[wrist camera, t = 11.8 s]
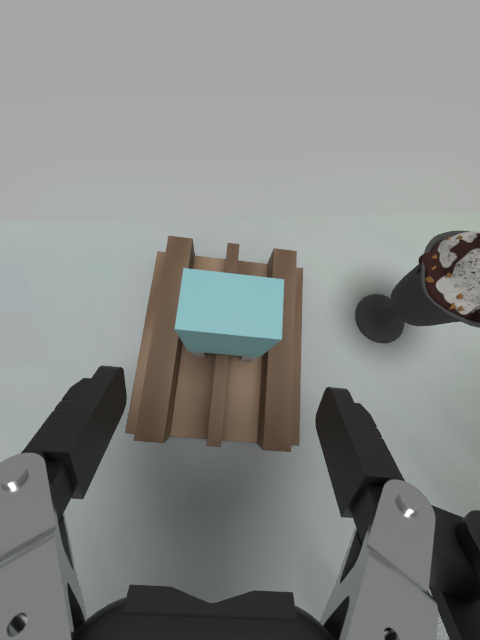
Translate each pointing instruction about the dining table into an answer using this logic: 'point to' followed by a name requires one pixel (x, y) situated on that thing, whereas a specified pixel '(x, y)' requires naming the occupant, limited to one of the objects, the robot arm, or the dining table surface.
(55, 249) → the dining table surface
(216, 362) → the rail
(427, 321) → the sundae
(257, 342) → the aqua box with feet
